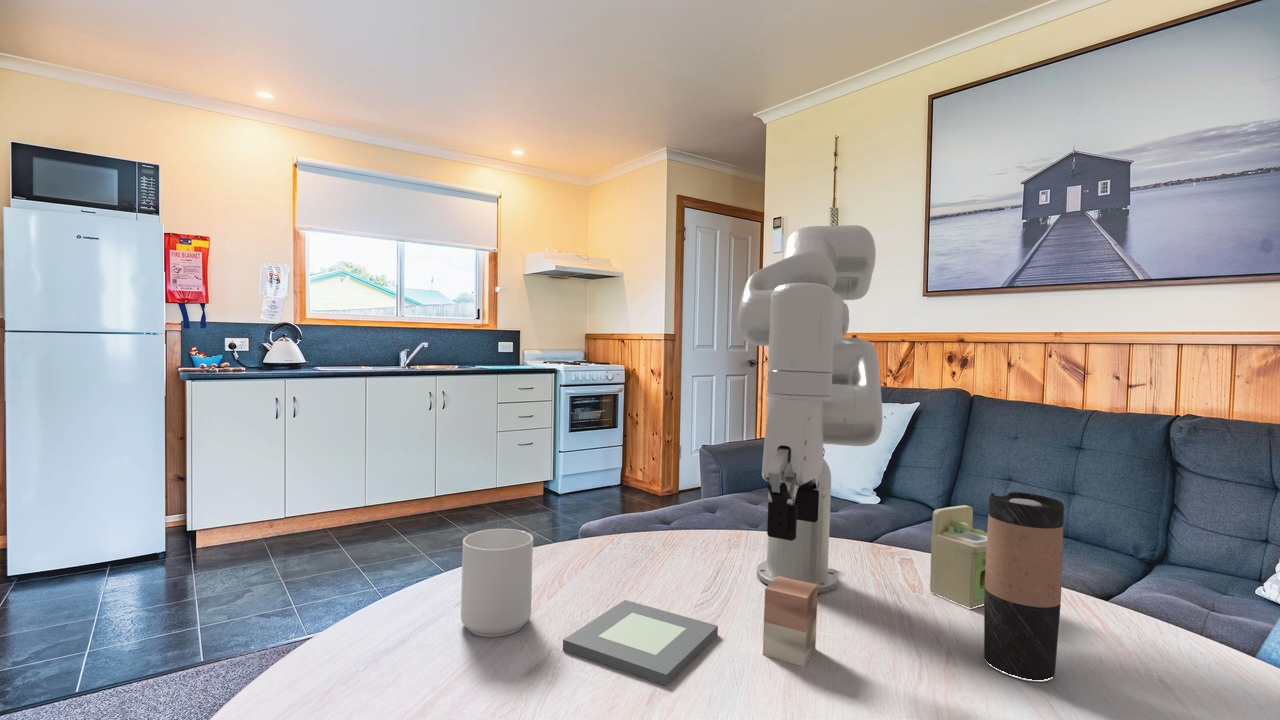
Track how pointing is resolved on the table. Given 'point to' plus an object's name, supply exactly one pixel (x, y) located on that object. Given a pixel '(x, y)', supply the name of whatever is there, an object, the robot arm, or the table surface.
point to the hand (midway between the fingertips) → (793, 528)
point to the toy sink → (958, 556)
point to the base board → (642, 640)
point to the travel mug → (1023, 584)
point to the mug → (496, 581)
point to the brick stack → (790, 620)
